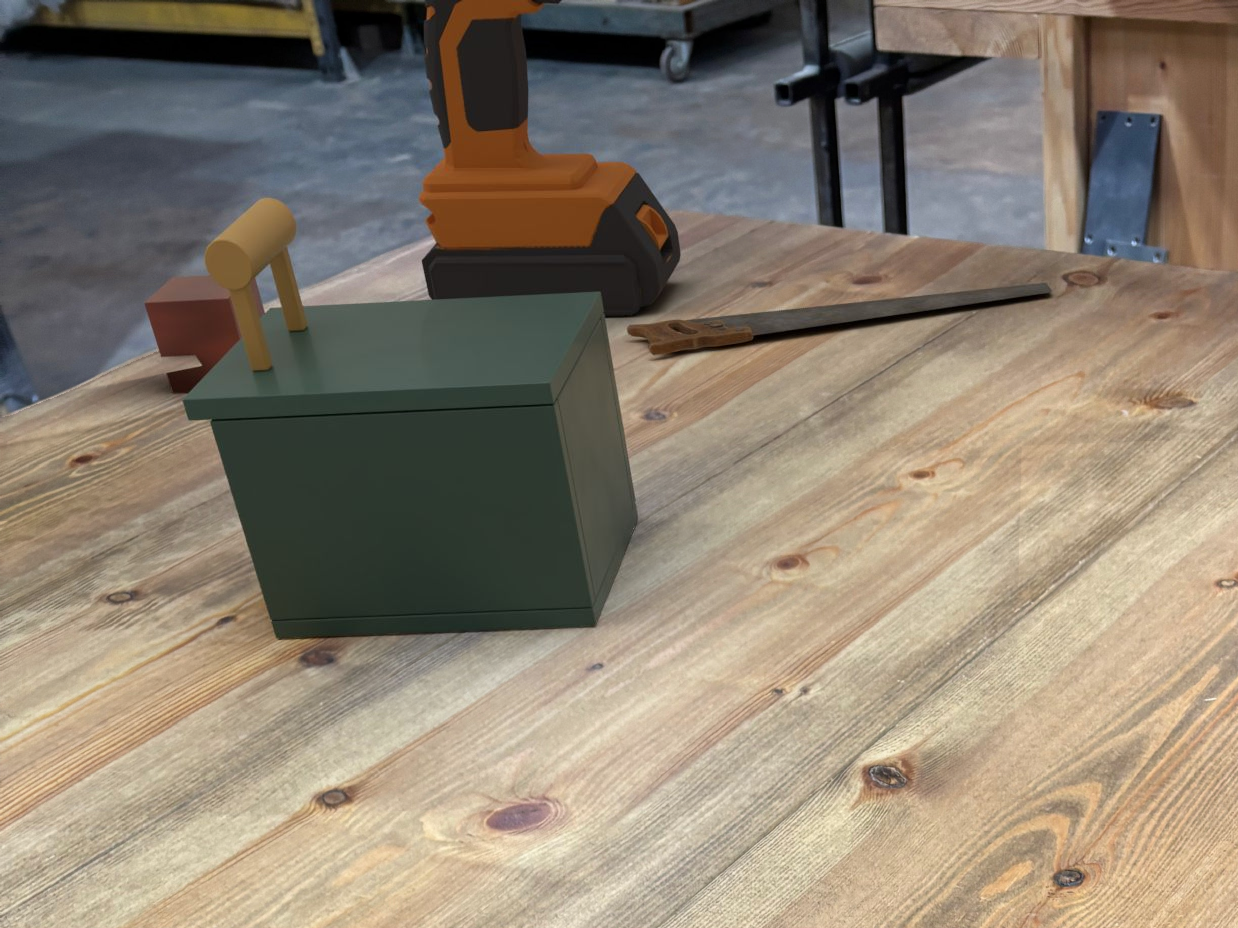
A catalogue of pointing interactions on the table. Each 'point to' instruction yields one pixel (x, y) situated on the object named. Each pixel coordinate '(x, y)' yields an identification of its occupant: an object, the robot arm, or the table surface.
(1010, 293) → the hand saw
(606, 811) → the table surface
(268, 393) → the lid
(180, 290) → the block
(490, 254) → the power drill
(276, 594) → the chest
